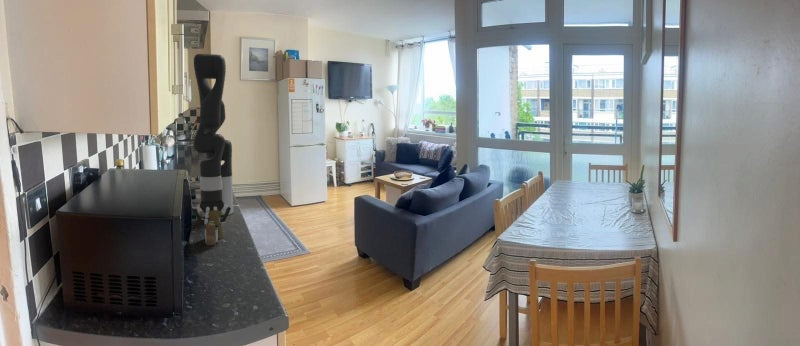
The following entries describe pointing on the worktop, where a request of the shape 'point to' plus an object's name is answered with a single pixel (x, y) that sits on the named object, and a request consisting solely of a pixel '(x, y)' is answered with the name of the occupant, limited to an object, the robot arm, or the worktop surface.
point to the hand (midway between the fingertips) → (213, 232)
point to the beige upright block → (210, 233)
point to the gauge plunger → (215, 233)
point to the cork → (216, 220)
